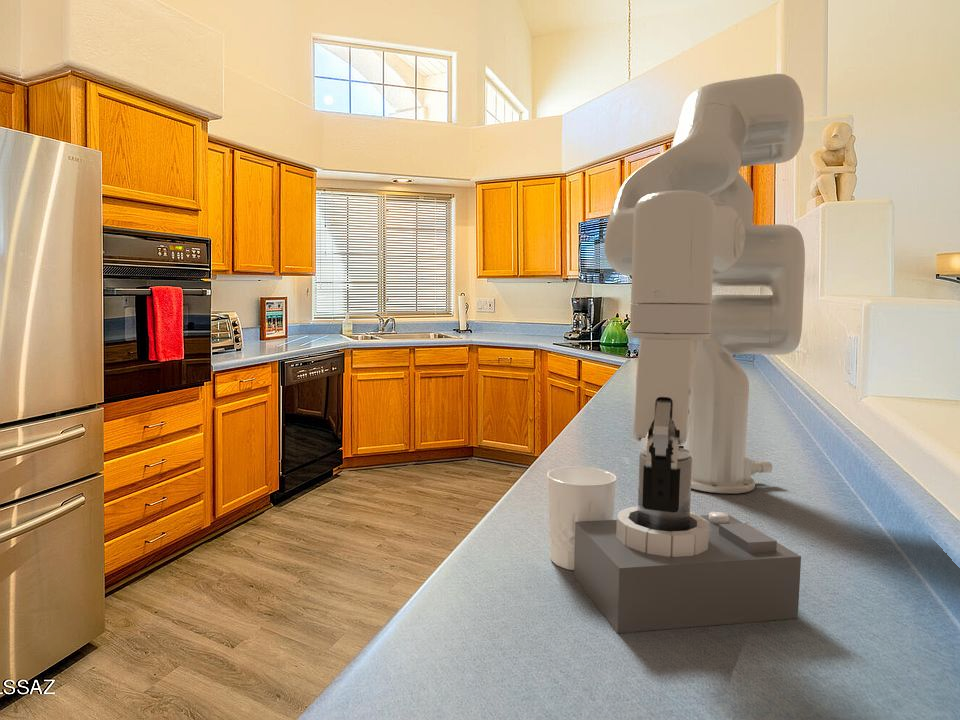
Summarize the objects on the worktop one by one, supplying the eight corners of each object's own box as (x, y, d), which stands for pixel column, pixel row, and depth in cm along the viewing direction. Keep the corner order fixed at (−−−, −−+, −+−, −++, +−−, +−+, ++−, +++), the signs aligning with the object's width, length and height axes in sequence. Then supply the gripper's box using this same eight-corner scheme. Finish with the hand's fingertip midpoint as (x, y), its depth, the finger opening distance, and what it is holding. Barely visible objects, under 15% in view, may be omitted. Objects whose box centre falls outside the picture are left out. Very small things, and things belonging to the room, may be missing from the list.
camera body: (725, 565, 69) (728, 496, 69) (797, 618, 57) (802, 535, 57) (573, 575, 66) (575, 503, 66) (617, 633, 54) (620, 546, 54)
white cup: (599, 580, 65) (601, 489, 64) (533, 564, 69) (535, 477, 68) (623, 556, 72) (626, 472, 71) (562, 542, 76) (564, 463, 75)
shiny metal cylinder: (639, 526, 64) (642, 443, 64) (689, 533, 63) (693, 447, 62) (633, 543, 60) (636, 453, 59) (687, 551, 58) (691, 458, 57)
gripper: (639, 321, 69) (634, 469, 70) (619, 324, 52) (613, 517, 54) (710, 322, 66) (703, 476, 68) (712, 326, 50) (703, 529, 51)
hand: (663, 494), depth 61 cm, fingers open, 9 cm apart
